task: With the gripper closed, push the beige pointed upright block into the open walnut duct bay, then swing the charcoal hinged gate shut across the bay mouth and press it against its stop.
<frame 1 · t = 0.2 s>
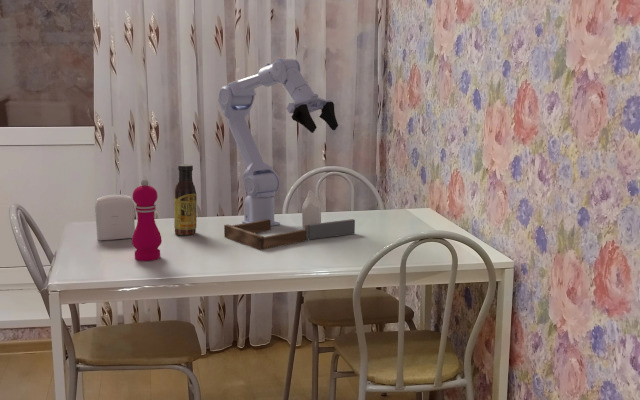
hand: (325, 129, 188), 31 cm above the table, tool tilted 45°, fingers open, 7 cm apart
photo printer: (116, 239, 196), on the table
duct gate: (331, 229, 199), point 2 cm above the table, hinge at -100.0°
duct bay: (264, 239, 196), on the table
sauce bottle: (186, 234, 202), on the table
pepper mill: (147, 258, 177), on the table
beige pointed upright block: (311, 230, 207), on the table
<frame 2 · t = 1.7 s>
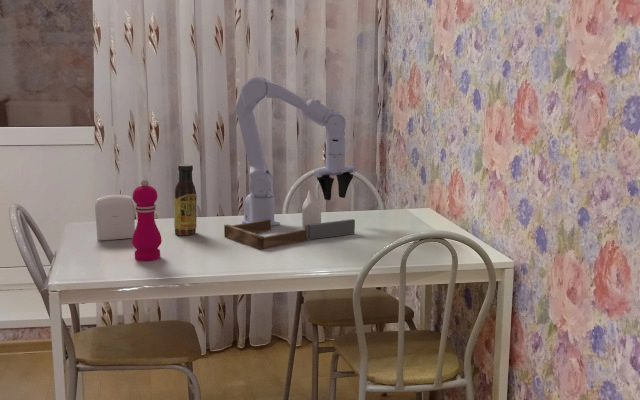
hand: (334, 198, 211), 8 cm above the table, tool pointing down, fingers open, 5 cm apart
nothing on the table moved.
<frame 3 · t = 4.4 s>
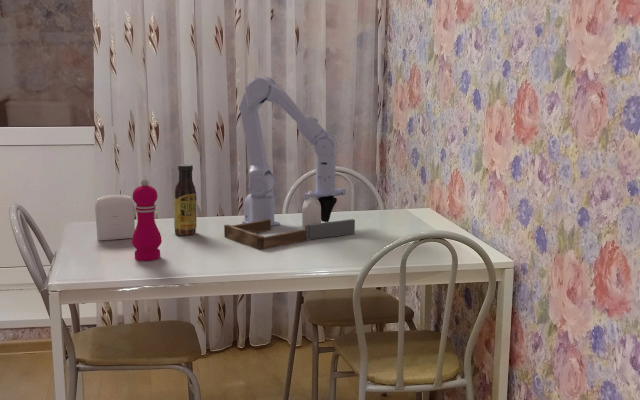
hand: (325, 221, 210), 2 cm above the table, tool pointing down, fingers closed
beige pointed upright block: (311, 230, 207), on the table, touching gripper
everything else where it was.
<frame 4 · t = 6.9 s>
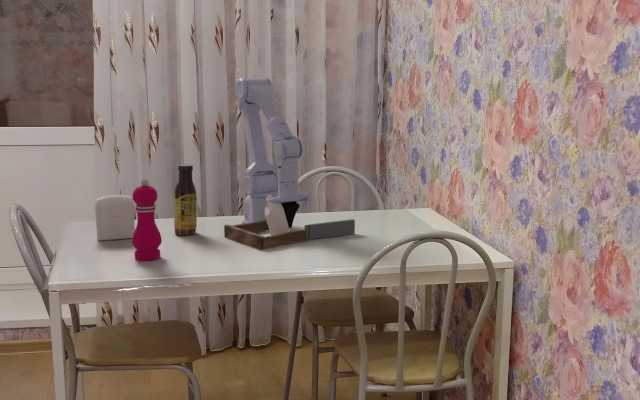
hand: (288, 228, 201), 2 cm above the table, tool pointing down, fingers closed
beige pointed upright block: (280, 234, 199), point 1 cm above the table, touching gripper
everything else where it was.
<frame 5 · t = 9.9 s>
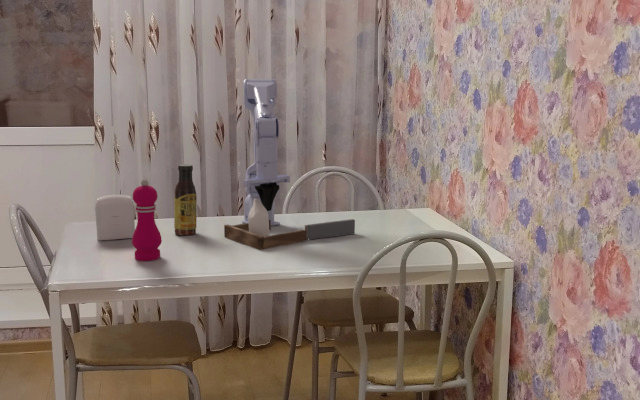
hand: (267, 210, 196), 8 cm above the table, tool pointing down, fingers closed
beige pointed upright block: (259, 240, 195), resting in duct bay
everything else where it was.
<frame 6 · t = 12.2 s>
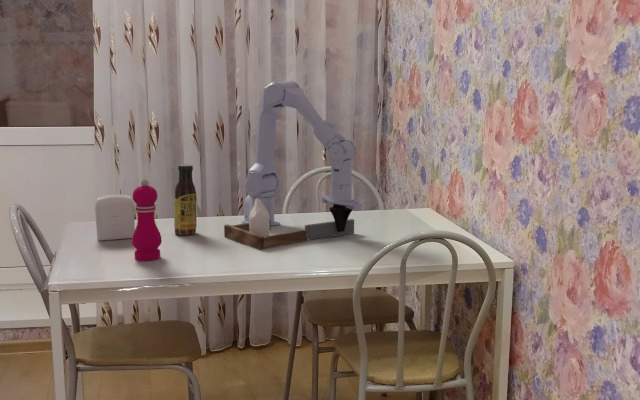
hand: (340, 231, 199), 2 cm above the table, tool pointing down, fingers closed
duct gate: (331, 228, 200), point 2 cm above the table, hinge at -98.8°, touching gripper
everything else where it was.
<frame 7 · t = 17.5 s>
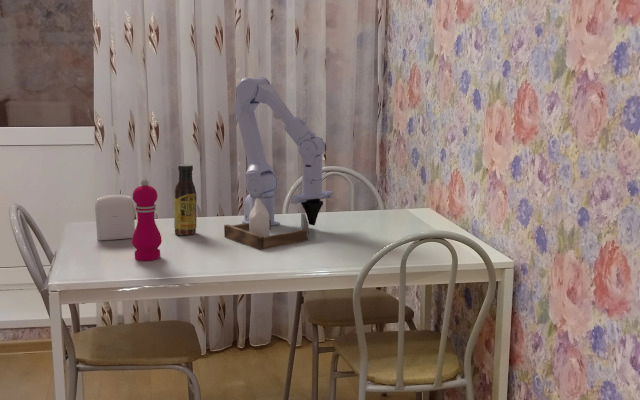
hand: (311, 224, 207), 2 cm above the table, tool pointing down, fingers closed
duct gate: (304, 225, 203), point 2 cm above the table, hinge at -35.4°, touching gripper
everything else where it was.
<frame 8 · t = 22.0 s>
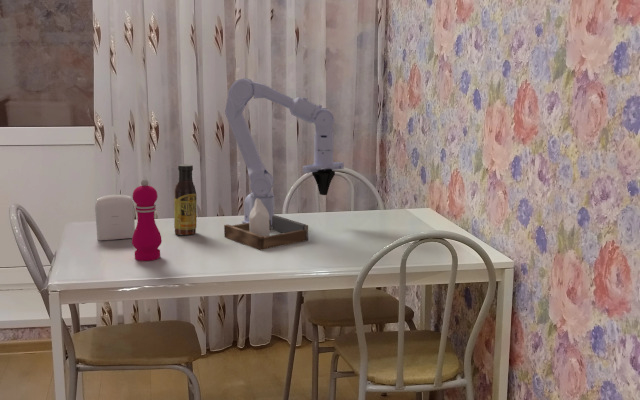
hand: (323, 194, 212), 9 cm above the table, tool pointing down, fingers closed
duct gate: (288, 226, 202), point 2 cm above the table, hinge at -1.0°
everything else where it was.
at the end: beige pointed upright block inside the target area (2.4 cm from its centre), resting in duct bay; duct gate at -1° (first picture: -100°) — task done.
